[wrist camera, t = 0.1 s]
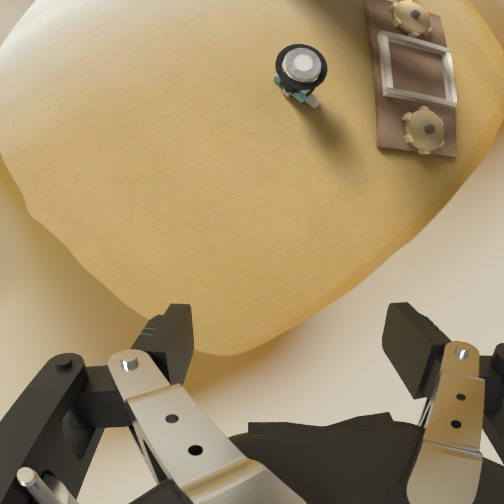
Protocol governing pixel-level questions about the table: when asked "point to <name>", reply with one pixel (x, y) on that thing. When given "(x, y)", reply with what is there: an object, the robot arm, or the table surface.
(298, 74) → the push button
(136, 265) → the table surface
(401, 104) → the gear board
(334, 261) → the table surface
